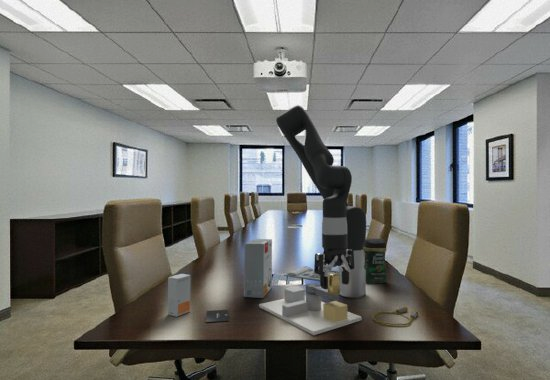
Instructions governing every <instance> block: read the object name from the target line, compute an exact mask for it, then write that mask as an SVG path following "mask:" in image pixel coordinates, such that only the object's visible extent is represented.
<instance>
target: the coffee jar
mask: <svg viewBox="0 0 550 380" xmlns="http://www.w3.org/2000/svg"><path fill="white" fill-rule="evenodd" d="M387 250H388V248H387V242H386V240H385V239H383V238H366V240H365V243H364V268H365V270H366V283H369V284H385V283H386V282H387V281H388V280H387V279H388V278H387V277H388V276H387V267H386V252H387Z"/></svg>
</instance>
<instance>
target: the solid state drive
mask: <svg viewBox="0 0 550 380" xmlns="http://www.w3.org/2000/svg"><path fill="white" fill-rule="evenodd" d="M226 322H227V323H229V322H230V312H229V309H214V310H207V311H206V316H205V324H211V323H226Z"/></svg>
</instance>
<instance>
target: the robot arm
mask: <svg viewBox="0 0 550 380" xmlns="http://www.w3.org/2000/svg"><path fill="white" fill-rule="evenodd" d="M275 121H276V124H277V127H278V129H279V130H280V133H282V135H283V136H284V137H285V140H286V141H287V142H288V144H289V145H290V146H291V148H292V149H293V151H294V152H295V154H296V155H297V157H298V159H299V161H300V162H301V164H302V166H303V168H304V169H305V172H306V173H307V175H308V176H309V178H310V179H311V182H312V183H313V184H314V186H315V187H316V189H317V191H318V192H319V194H320V195H321V198H322V199H323V200H322V222H321V247H322V249H323V253H319V252H318V253H315V254H314V264H313V265H314V268H313V270H314V273H315V274H318V275H320V281H319V284H320V286H321V288H323V289H328V276H327V275H328V273H330V272H329V271H330V270H333V268H336V267H338V271H339V275H340V294H339V296H341V297H345V298H362V297H364V296H365V295H366V293H367V291H366V290H367V285H366V284H367V282H366V270H365V268H364V261H365V252H364V243H365V240H366V239H367V216H366V213H365V211H364V210H363V208H361V207H358V206H350V205H349V203H348V198H349V194H350V190H351V186H352V179H353V178H352V173H351V171H350V169H349V168H348V167H347V166H343V165H333V164H334V163H335V162H334V161H335V159H334V155H332V153H331V151H330V150H329V148H328V147H327V146H326V145H325V143H324V142H323V139H322V138H321V136H320V135H319V132H318V130H317V128H316V126H315V125H314V123H313V121H312V119H311V118H310V116H309V114H308V113H307V111H306V110H305V109H304V108H303V106H301V105H299V104H297V105H294V106H293V107H291V108H290V109H288V110H286V111H285V112H283V113H281V114H280V115H279V116H277V117H276V120H275ZM304 131H305V140H304V144H303V143H302V142H300V140H298V139H297V138H296V136H298V135H300V134H301V133H302V132H304ZM318 269H319V270H318ZM325 269H326V270H325Z"/></svg>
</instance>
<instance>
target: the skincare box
mask: <svg viewBox="0 0 550 380" xmlns="http://www.w3.org/2000/svg"><path fill="white" fill-rule="evenodd" d="M191 280H192V277H191V274H186V273H179V274H175V275H173V276H169V277H167V315H169V316H173V317H179V316H181V315H185V314H186V313H190V312H191Z"/></svg>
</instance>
